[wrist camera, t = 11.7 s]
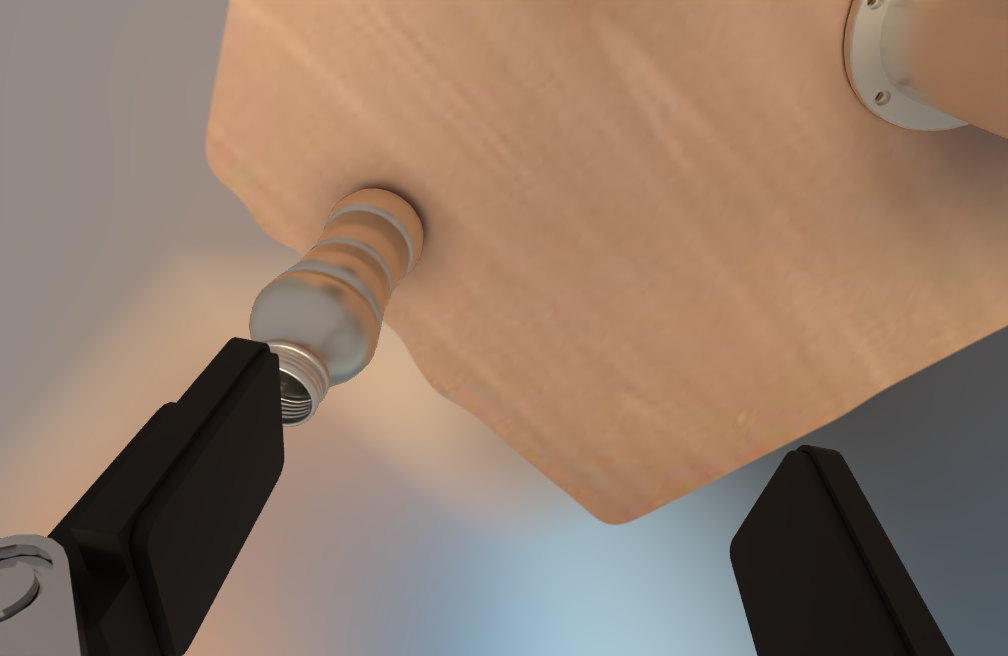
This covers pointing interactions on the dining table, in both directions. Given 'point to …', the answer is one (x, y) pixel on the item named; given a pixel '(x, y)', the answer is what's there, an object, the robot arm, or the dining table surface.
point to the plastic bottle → (336, 298)
